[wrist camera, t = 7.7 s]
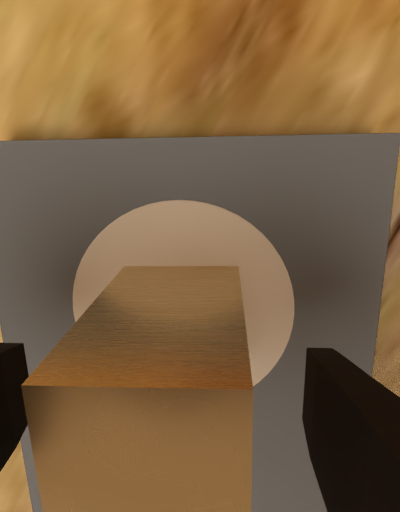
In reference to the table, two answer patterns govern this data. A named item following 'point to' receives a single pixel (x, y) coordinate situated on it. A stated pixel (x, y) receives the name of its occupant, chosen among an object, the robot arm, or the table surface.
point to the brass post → (148, 398)
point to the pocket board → (209, 256)
